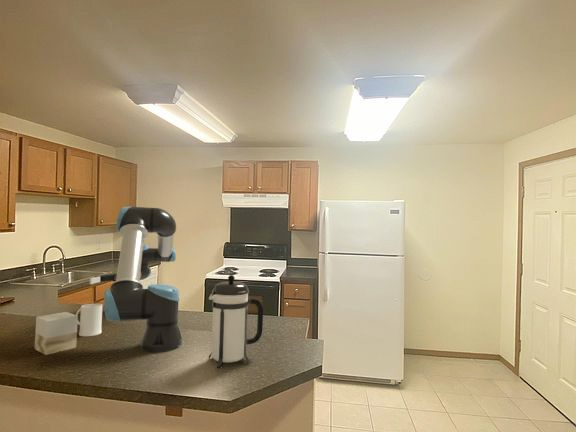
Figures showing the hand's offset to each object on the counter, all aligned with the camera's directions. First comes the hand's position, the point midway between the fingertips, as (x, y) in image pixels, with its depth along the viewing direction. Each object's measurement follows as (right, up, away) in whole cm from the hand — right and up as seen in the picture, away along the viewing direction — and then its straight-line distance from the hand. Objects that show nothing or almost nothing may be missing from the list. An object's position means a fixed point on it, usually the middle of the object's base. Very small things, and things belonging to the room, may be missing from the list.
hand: (103, 282), depth 155 cm
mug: (-2, -20, -10) cm, 23 cm away
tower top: (-2, -13, -29) cm, 32 cm away
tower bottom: (-2, -19, -29) cm, 35 cm away
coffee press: (+65, -21, -36) cm, 78 cm away
